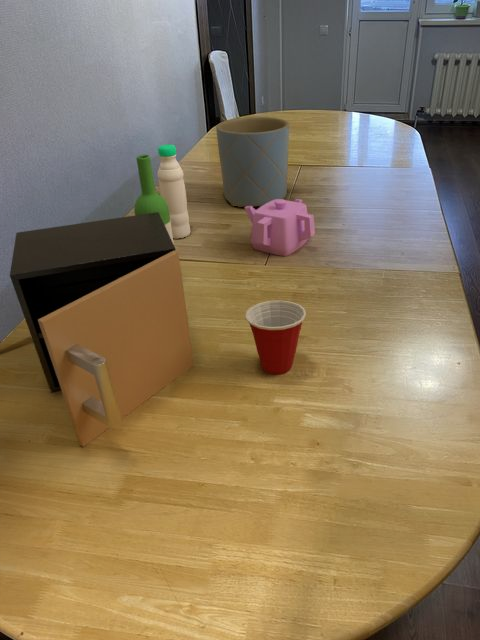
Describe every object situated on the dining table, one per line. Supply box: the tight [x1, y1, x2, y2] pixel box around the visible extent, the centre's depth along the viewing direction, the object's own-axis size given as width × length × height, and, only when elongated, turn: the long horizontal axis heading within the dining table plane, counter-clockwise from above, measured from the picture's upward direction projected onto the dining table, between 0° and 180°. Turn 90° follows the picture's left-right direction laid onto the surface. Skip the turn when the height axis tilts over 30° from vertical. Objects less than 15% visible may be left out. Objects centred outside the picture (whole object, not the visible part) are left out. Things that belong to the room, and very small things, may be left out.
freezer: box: [9, 212, 177, 394], centre depth 97 cm, size 18×26×24 cm
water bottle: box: [157, 143, 191, 240], centre depth 144 cm, size 7×7×25 cm
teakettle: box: [244, 198, 316, 257], centre depth 140 cm, size 17×17×12 cm
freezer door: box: [38, 250, 195, 448], centre depth 82 cm, size 8×26×24 cm, turn 143°
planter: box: [215, 116, 290, 208], centre depth 168 cm, size 23×23×24 cm
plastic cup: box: [245, 299, 307, 376], centre depth 95 cm, size 11×11×12 cm
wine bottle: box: [134, 154, 175, 245], centre depth 119 cm, size 8×8×30 cm
